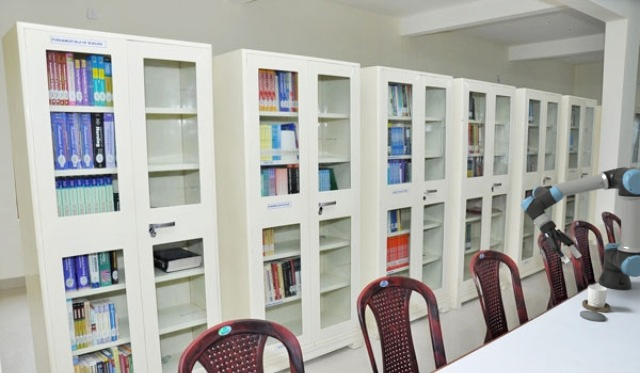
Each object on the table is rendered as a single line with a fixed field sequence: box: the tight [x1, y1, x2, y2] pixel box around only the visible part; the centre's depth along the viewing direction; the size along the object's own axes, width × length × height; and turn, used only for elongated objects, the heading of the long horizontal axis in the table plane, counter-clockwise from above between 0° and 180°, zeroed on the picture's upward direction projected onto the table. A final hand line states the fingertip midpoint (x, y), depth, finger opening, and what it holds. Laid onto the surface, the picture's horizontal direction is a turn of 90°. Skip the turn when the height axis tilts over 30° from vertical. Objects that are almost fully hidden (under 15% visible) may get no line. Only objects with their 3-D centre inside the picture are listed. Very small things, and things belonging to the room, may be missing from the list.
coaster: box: [579, 310, 606, 322], centre depth 213 cm, size 10×10×1 cm
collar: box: [581, 298, 611, 313], centre depth 223 cm, size 11×11×2 cm
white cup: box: [587, 284, 608, 308], centre depth 223 cm, size 8×8×10 cm
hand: (574, 259), depth 229 cm, fingers open, 13 cm apart
